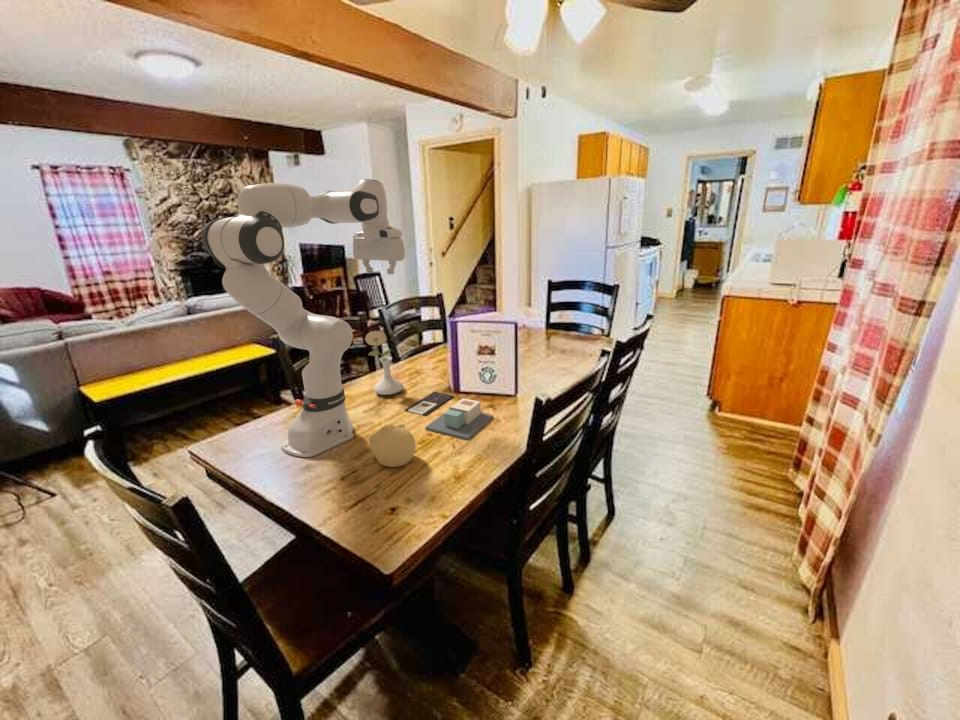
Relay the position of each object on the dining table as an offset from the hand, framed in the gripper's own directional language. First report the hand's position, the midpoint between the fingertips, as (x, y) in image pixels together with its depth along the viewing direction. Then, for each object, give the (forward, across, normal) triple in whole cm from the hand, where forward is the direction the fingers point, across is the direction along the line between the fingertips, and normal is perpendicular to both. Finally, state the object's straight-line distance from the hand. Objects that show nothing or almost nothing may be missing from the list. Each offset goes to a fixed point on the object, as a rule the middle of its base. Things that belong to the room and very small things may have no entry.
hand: (380, 273), depth 151 cm
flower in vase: (+47, -6, +4) cm, 48 cm away
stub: (+46, +34, -10) cm, 58 cm away
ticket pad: (+47, +34, -7) cm, 58 cm away
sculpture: (+47, +29, -34) cm, 65 cm away
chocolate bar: (+48, +16, +2) cm, 50 cm away
